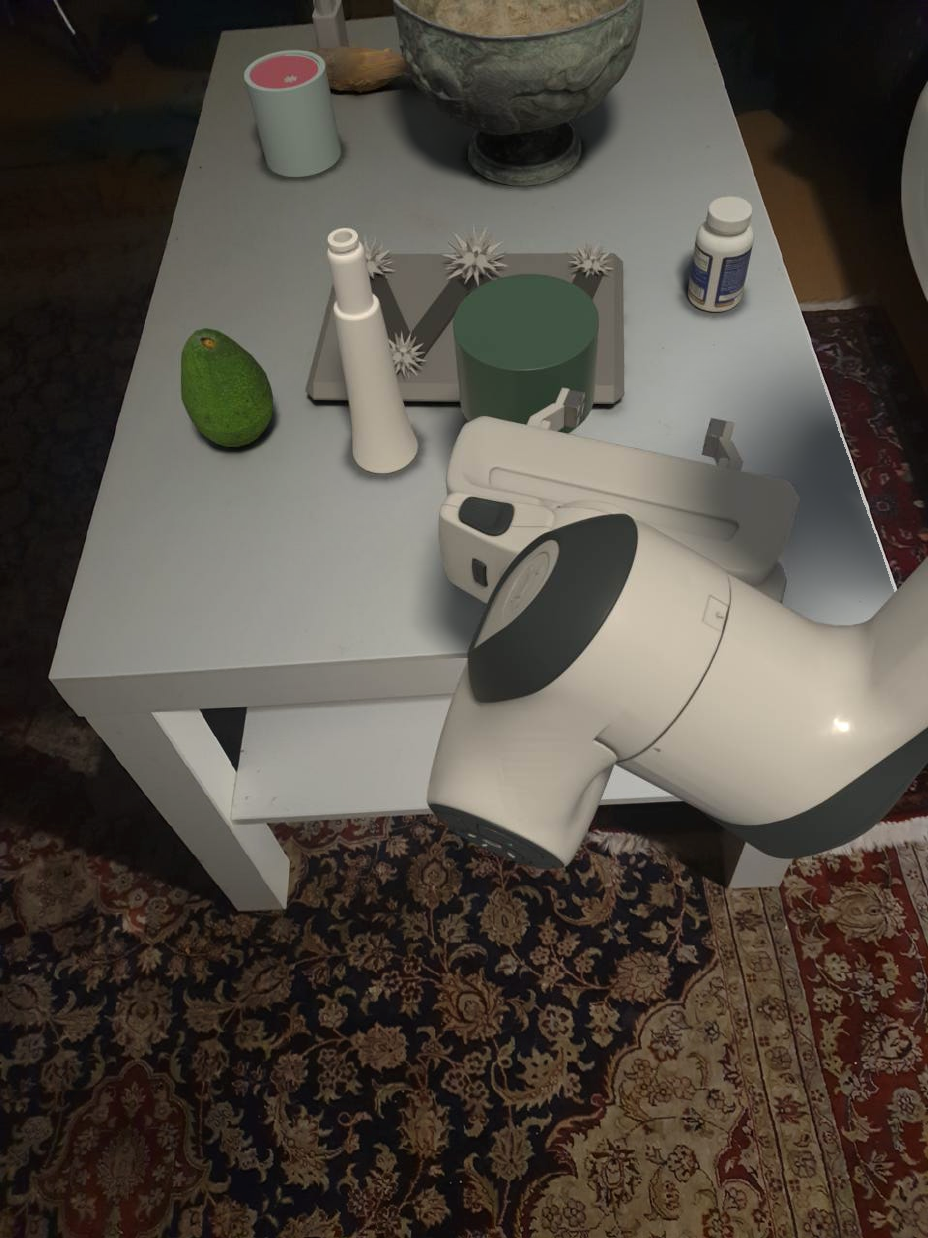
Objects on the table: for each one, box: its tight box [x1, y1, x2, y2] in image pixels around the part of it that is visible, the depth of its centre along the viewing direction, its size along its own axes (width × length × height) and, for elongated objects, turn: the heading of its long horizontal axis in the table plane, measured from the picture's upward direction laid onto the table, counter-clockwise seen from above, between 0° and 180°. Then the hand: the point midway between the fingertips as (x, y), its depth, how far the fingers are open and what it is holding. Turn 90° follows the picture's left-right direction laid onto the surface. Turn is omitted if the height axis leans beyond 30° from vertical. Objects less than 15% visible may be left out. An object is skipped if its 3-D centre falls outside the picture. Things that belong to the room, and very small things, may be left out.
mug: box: [243, 49, 342, 178], centre depth 110 cm, size 14×9×10 cm
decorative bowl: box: [392, 0, 645, 187], centre depth 101 cm, size 26×26×20 cm
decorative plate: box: [305, 223, 625, 405], centre depth 89 cm, size 30×22×7 cm
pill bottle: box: [687, 195, 755, 313], centre depth 89 cm, size 5×5×10 cm
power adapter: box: [311, 0, 350, 48], centre depth 119 cm, size 3×5×12 cm, turn 174°
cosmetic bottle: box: [326, 227, 419, 474], centre depth 75 cm, size 6×6×22 cm
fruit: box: [180, 327, 274, 448], centre depth 82 cm, size 8×8×12 cm
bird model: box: [308, 45, 410, 94], centre depth 118 cm, size 6×21×5 cm, turn 88°
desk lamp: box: [453, 274, 599, 434], centre depth 71 cm, size 13×10×20 cm
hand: (646, 411), depth 58 cm, fingers open, 8 cm apart
